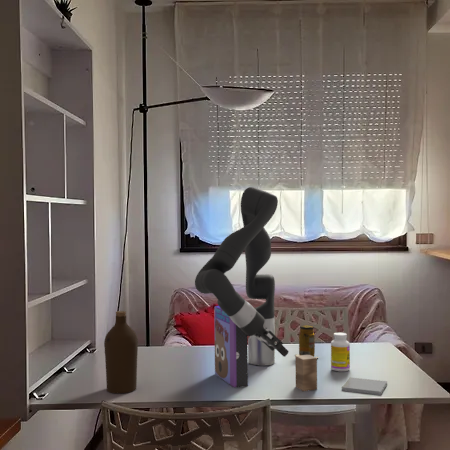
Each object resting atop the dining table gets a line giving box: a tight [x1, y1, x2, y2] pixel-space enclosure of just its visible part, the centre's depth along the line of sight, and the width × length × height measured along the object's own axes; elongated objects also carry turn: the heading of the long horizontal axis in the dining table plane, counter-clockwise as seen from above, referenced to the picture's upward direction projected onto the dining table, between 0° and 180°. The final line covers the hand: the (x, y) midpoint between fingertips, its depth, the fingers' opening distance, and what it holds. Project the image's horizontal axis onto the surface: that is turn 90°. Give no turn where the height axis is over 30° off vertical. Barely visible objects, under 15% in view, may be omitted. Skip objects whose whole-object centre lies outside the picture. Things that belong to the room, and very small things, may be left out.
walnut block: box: [295, 355, 318, 392], centre depth 182 cm, size 5×5×10 cm
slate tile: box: [341, 376, 388, 396], centre depth 183 cm, size 12×12×1 cm
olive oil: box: [103, 310, 139, 394], centre depth 183 cm, size 11×11×25 cm
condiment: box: [295, 324, 319, 358], centre depth 222 cm, size 7×8×12 cm
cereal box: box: [213, 305, 249, 389], centre depth 192 cm, size 17×5×24 cm, turn 22°
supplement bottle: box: [330, 332, 351, 373], centre depth 204 cm, size 7×7×13 cm
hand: (280, 351), depth 179 cm, fingers open, 8 cm apart
